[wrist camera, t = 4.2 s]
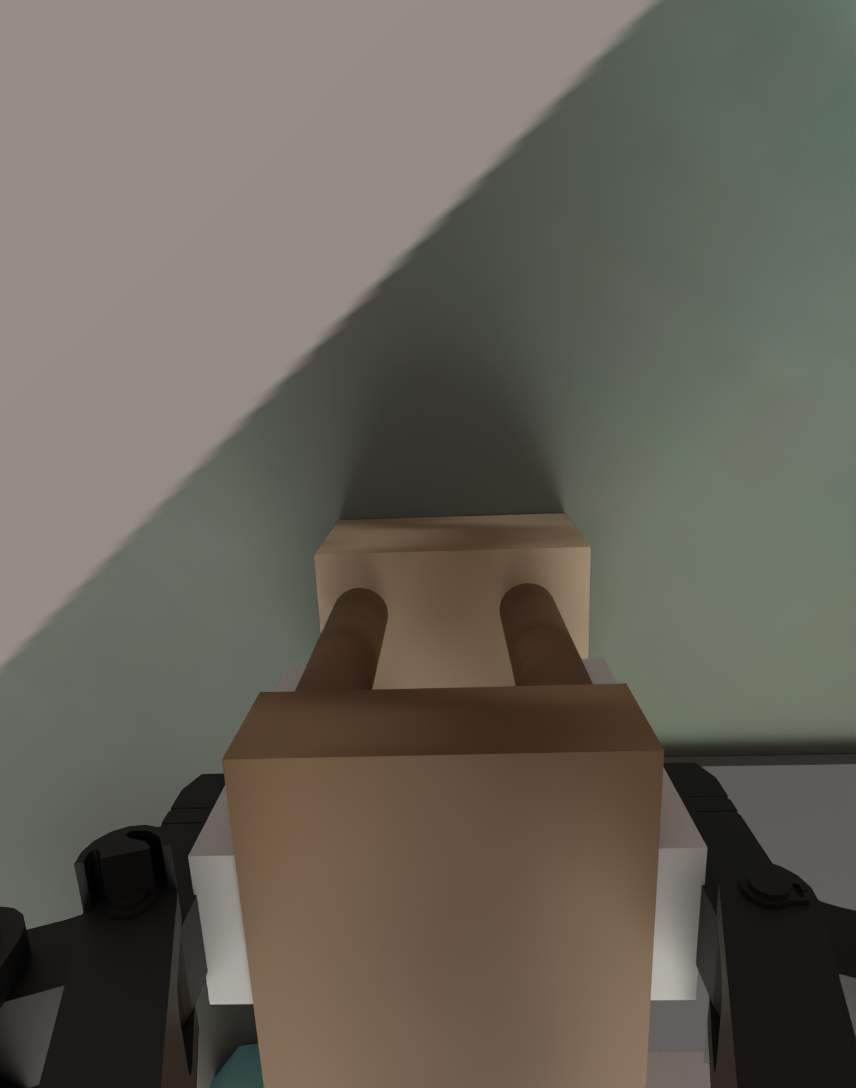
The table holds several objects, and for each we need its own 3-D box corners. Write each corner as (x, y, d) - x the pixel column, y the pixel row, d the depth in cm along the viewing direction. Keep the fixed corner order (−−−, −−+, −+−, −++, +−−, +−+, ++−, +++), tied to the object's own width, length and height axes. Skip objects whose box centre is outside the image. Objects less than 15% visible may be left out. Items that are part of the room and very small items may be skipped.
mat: (518, 1036, 26) (520, 1051, 26) (517, 759, 23) (518, 769, 23) (947, 1036, 26) (958, 1051, 25) (1003, 751, 23) (1017, 761, 22)
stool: (339, 791, 19) (265, 1094, 11) (322, 581, 17) (222, 760, 9) (561, 787, 18) (645, 1092, 11) (564, 574, 17) (664, 751, 9)
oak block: (353, 722, 23) (334, 794, 19) (338, 519, 21) (314, 554, 18) (562, 718, 23) (585, 791, 19) (564, 513, 21) (590, 546, 17)
